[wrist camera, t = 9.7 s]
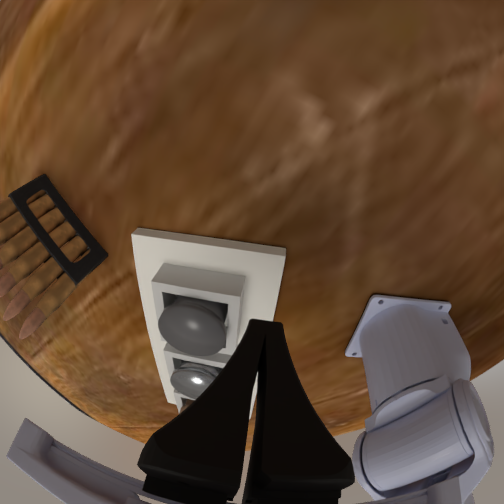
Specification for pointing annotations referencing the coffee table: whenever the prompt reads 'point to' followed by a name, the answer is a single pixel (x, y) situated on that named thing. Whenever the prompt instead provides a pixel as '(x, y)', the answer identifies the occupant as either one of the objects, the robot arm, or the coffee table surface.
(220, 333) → the knob graphite
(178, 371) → the knob steel
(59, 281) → the ammunition clip
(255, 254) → the mount board
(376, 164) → the coffee table surface
